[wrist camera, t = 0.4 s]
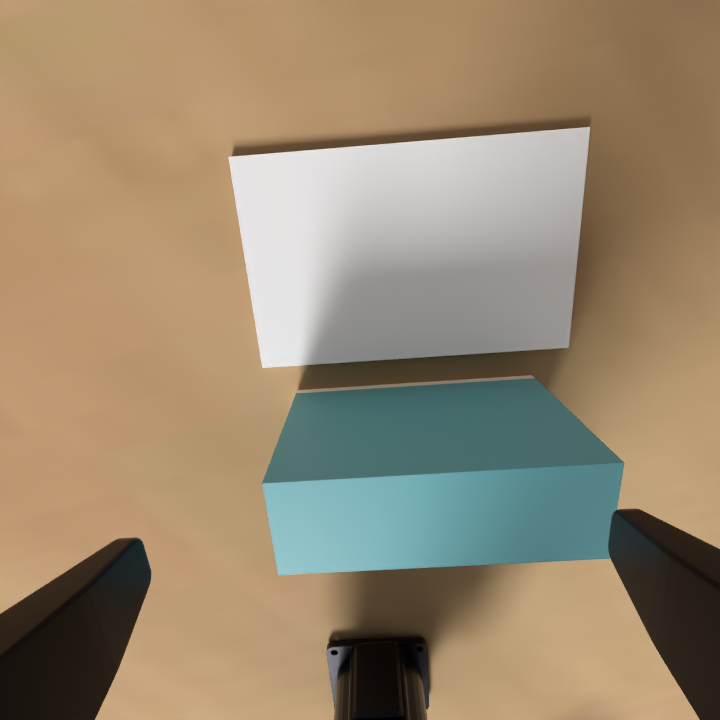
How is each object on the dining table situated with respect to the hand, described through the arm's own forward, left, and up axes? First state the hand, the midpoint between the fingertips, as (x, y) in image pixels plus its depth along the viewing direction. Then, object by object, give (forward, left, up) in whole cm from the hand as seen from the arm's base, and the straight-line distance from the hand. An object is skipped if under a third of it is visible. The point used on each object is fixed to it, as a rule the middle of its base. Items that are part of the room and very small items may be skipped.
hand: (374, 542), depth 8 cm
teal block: (-4, -2, -14) cm, 14 cm away
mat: (+4, -2, -13) cm, 14 cm away
